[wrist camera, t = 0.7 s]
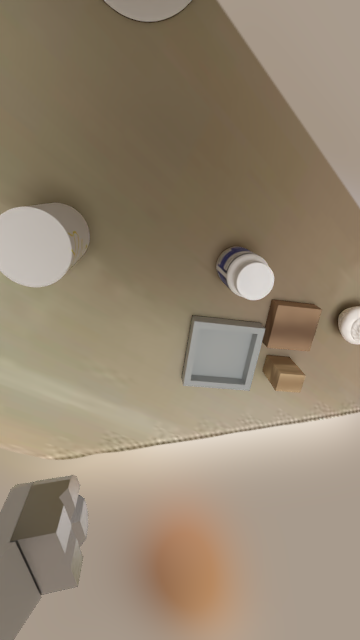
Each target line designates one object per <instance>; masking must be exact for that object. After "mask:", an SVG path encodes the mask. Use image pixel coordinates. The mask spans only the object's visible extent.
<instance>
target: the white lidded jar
mask: <svg viewBox="0 0 360 640" xmlns="http://www.w3.org/2000/svg"><path fill="white" fill-rule="evenodd" d="M338 317H339V318H338V326H339V331H340V332H341V335H342V336H343V338H344V339H345V340H346V341H348V342H349V343H352V344H360V306H356V307H351V308H347V309H345V310H343V311H342V312H341V313H340V314H339V316H338Z"/></svg>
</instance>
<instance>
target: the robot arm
mask: <svg viewBox="0 0 360 640" xmlns="http://www.w3.org/2000/svg"><path fill="white" fill-rule="evenodd" d="M104 1H105V2H106V3H107V4H108V5H109V6H110V7H112V8H113V9H114V10H116V11H117V12H119V13H120V14H122V15H124V16H126V17H128V18H131V19H134V20H138V21H145V22H153V21H160V20H164V19H167V18H169V17H172V16H174V15H175V14H177V13H179V12H180V11H181V10H183V9H184V8H185V7H186V6H187V5H188V4H189V3H190V2H191V1H192V0H104ZM79 489H80V484H79V481H78V479H77V476H74V475H71V476H65V477H59V478H52V479H46V480H40V481H35V482H30V483H24V484H17V485H15V486H14V487H13V488H12V489H11V490H10V492H9V495H8V497H7V499H6V501H5V503H4V506H3V508H2V510H1V512H0V640H14V639H15V637H16V636H17V634H18V633H19V631H20V630H21V628H22V626H23V625H24V623H25V622H26V620H27V619H28V617H29V616H30V614H31V613H32V611H33V610H34V608H35V607H36V605H37V604H38V602H39V600H40V599H41V595H44V594H48V593H52V592H57V591H61V590H65V589H70V588H74V587H78V584H79V578H80V572H81V566H82V561H83V556H82V552H81V550H80V546H81V545H82V544H83V542H84V541H85V540H86V537H87V531H88V511H87V505H86V502H85V499H84V498H83V497H82V496H80V495H78V493H79Z"/></svg>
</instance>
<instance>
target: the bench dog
mask: <svg viewBox="0 0 360 640" xmlns="http://www.w3.org/2000/svg"><path fill="white" fill-rule="evenodd" d="M263 372H264V374H265V375H266V377H267V378H268V380H269V381H270V383H271V384H272V386H273V388H274V389H275V391H287V392H300V391H301V388H302V385H303V382H304V379H305V374H304V373H303V372H302V371H301V370H300V369H299V367H298V366H297V365H296V364H295V363H294V362H293V361H292V359H291V358H290V357H283V356H273V355H267V356H266V360H265V364H264V367H263Z"/></svg>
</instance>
